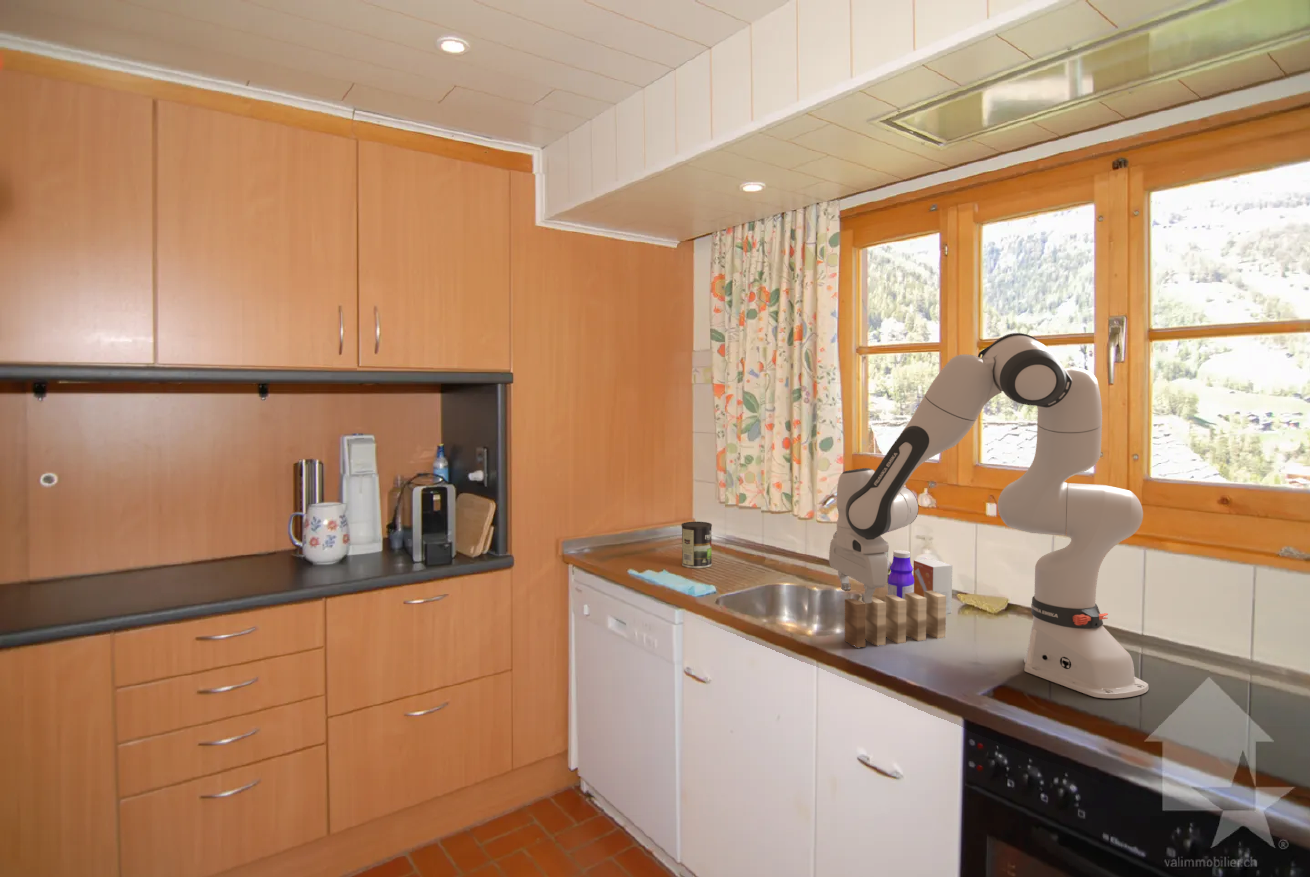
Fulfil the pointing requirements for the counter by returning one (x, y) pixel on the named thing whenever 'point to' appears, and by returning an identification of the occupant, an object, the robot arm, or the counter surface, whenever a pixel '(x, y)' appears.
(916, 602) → the domino
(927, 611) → the domino
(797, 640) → the counter surface
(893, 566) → the bottle
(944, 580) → the small box
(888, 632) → the domino
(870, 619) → the domino
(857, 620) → the domino
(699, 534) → the coffee can
